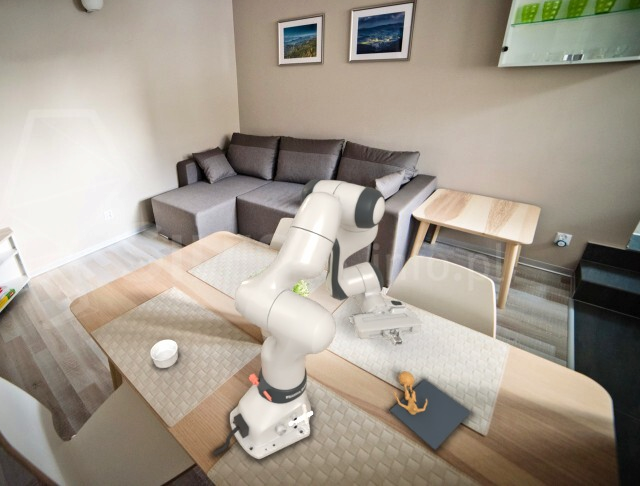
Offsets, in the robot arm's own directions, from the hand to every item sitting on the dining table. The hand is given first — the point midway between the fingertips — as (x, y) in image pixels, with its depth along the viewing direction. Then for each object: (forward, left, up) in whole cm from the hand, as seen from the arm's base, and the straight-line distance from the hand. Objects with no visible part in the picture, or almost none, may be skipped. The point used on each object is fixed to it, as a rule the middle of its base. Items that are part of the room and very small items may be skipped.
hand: (398, 343), depth 96 cm
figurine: (-3, -5, -8) cm, 10 cm away
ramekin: (-57, +45, -9) cm, 73 cm away
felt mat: (-6, -14, -9) cm, 18 cm away
